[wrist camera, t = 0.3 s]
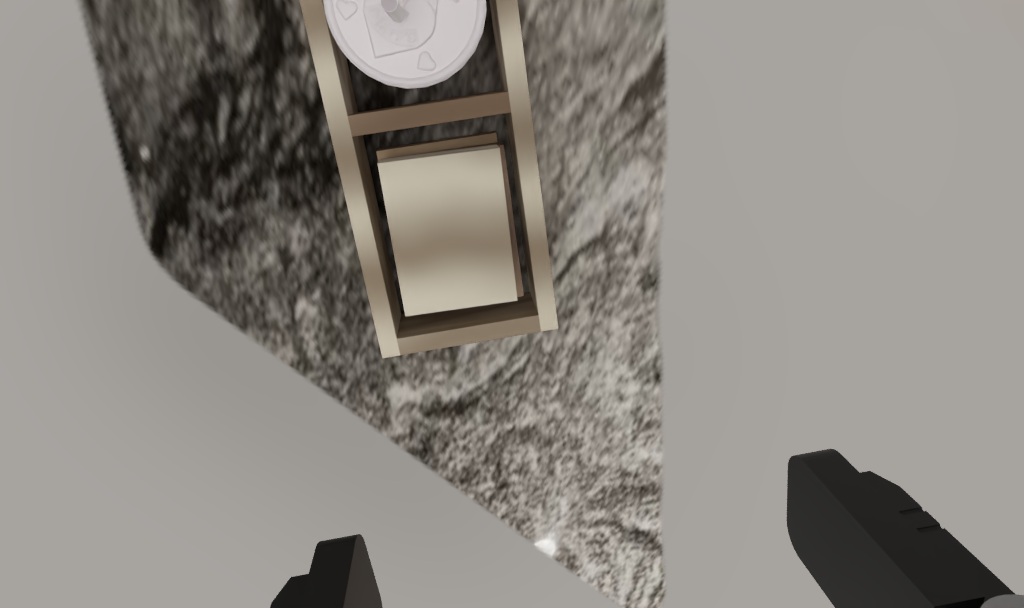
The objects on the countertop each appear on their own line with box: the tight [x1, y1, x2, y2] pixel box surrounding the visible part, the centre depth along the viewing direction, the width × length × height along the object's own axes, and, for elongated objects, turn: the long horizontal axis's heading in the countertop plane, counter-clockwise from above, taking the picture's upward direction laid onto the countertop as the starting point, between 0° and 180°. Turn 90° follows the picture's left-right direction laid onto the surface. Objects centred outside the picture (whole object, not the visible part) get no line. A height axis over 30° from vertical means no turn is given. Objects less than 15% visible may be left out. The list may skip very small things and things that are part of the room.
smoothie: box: [323, 0, 487, 89], centre depth 27 cm, size 6×6×14 cm
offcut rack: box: [300, 0, 558, 358], centre depth 34 cm, size 22×10×4 cm, turn 8°
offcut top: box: [377, 144, 518, 317], centre depth 33 cm, size 8×6×2 cm
